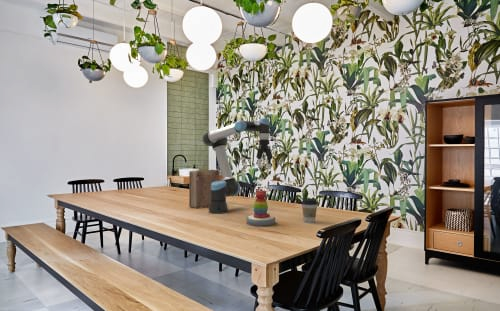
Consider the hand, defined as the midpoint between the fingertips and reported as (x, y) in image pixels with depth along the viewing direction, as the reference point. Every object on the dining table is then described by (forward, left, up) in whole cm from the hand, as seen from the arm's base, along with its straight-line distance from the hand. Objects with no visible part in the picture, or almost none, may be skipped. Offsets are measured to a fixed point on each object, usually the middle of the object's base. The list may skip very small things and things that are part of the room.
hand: (264, 168), depth 258 cm
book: (-61, +4, -35) cm, 70 cm away
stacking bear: (+13, -26, -31) cm, 42 cm away
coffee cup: (+38, -4, -35) cm, 52 cm away
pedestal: (+13, -26, -35) cm, 45 cm away
